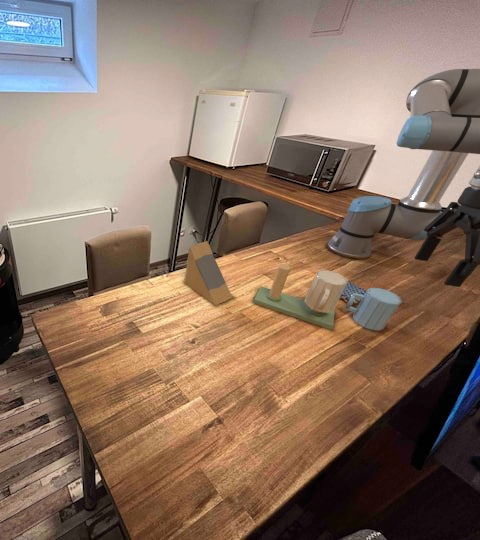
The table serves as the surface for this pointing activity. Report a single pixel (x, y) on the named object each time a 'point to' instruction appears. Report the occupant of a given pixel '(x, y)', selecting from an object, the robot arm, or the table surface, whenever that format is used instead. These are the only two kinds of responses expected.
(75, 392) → the table surface
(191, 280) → the sandwich container
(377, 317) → the blue cup
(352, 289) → the woven mat
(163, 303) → the table surface
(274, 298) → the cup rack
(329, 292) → the cream cup
